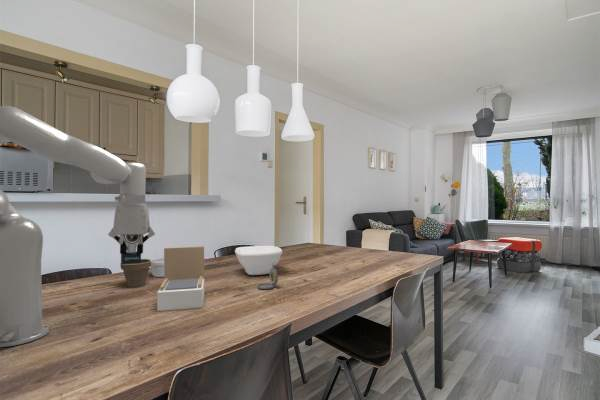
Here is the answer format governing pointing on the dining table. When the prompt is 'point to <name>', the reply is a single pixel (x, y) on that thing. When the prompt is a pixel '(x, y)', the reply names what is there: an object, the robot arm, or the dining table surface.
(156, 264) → the ramekin
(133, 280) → the flower pot
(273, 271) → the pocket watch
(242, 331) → the dining table surface
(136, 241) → the watch
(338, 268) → the dining table surface
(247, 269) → the bowl
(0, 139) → the robot arm
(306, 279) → the dining table surface
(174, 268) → the open display box
